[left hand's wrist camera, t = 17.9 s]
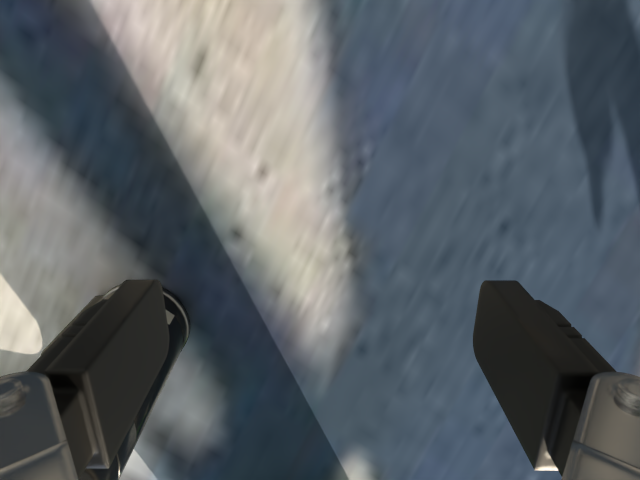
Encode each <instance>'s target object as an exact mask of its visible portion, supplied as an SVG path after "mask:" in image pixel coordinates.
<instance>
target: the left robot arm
mask: <svg viewBox="0 0 640 480" xmlns="http://www.w3.org/2000/svg"><path fill="white" fill-rule="evenodd" d="M189 333H190V321H189V317H188V314H187V312H186V310H185V308H184V306H183V305H182V303H181V302H180V301H179V300H178V299H177V298H176V297H175V296H174V295H173V294H172V293H170V292H169V291H167V290H165V289H164V288H162V286H161V283H160V282H159V281H158V280H126V281H124V282H123V283H122V284H121V285H119V286H116V287H115V288H113V289H111V290H110V291H109V292H108V293H107V294H106V295H104V296H95V297H94V298H93V299H92V300H91V301H90V302H89V303H88V305H87V306H86V307H85V308H84V309H83V310H82V311H81V312H80V313H79V314H78V315H77V316H76V317H75V318H74V319H73V320H72V321H71V322H70V323H69V324H68V325H67V326H66V327H65V328H64V330H63V331H62V332H61V333H60V334H59V335H58V336H57V337H56V338H55V339H54V340H53V341H52V342H51V343H50V344H49V345H48V346H47V347H46V348H45V349H44V350H43V352H42V353H41V357H40V358H39V359H38V360H37V361H36V362H35V363H34V364H33V365H32V366H31V367H30V368H29V369H28V370H27V371H26V372H18V373H13V374H8V375H5V376H2V377H0V480H119V478H120V476H121V474H122V472H123V470H124V468H125V466H126V464H127V462H128V460H129V457H130V455H131V453H132V451H133V449H134V447H135V445H136V443H137V441H138V439H139V437H140V434H141V432H142V430H143V428H144V426H145V424H146V422H147V420H148V418H149V416H150V414H151V412H152V410H153V407H154V405H155V403H156V401H157V399H158V397H159V395H160V393H161V391H162V389H163V387H164V385H165V383H166V381H167V378H168V376H169V374H170V372H171V370H172V368H173V366H174V364H175V362H176V360H177V358H178V356H179V354H180V352H181V351H182V349H183V347H184V345H185V344H186V341H187V339H188V337H189ZM473 348H474V353H475V357H476V359H477V361H478V363H479V365H480V367H481V369H482V371H483V373H484V375H485V377H486V379H487V380H488V382H489V384H490V386H491V388H492V390H493V392H494V394H495V396H496V398H497V399H498V401H499V403H500V405H501V407H502V409H503V411H504V413H505V415H506V417H507V418H508V420H509V422H510V424H511V426H512V428H513V430H514V432H515V434H516V436H517V437H518V439H519V441H520V443H521V445H522V447H523V449H524V451H525V453H526V455H527V456H528V458H529V460H530V462H531V464H532V466H533V468H534V470H558V471H559V472H560V474H561V476H562V480H640V377H638V376H635V375H632V374H627V373H622V372H616V371H615V370H614V369H613V368H612V366H611V365H610V364H609V363H608V362H607V361H606V360H605V359H604V358H603V357H602V356H601V355H600V354H599V353H598V352H597V351H596V350H595V349H594V348H593V347H592V346H591V345H590V344H589V342H588V341H587V340H586V339H585V338H582V335H581V334H580V333H579V332H578V331H577V330H576V329H575V328H574V327H571V324H570V323H569V322H568V321H567V320H566V318H565V317H564V316H563V315H562V314H561V313H560V312H559V311H557V310H555V309H554V308H552V307H550V306H549V305H547V304H545V303H543V302H542V301H540V300H534V299H533V298H532V297H531V296H530V294H529V293H528V292H527V291H526V290H525V289H524V288H523V287H522V286H521V284H520V283H519V282H517V281H484V282H483V283H482V285H481V288H480V293H479V300H478V306H477V313H476V319H475V326H474V332H473Z"/></svg>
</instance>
